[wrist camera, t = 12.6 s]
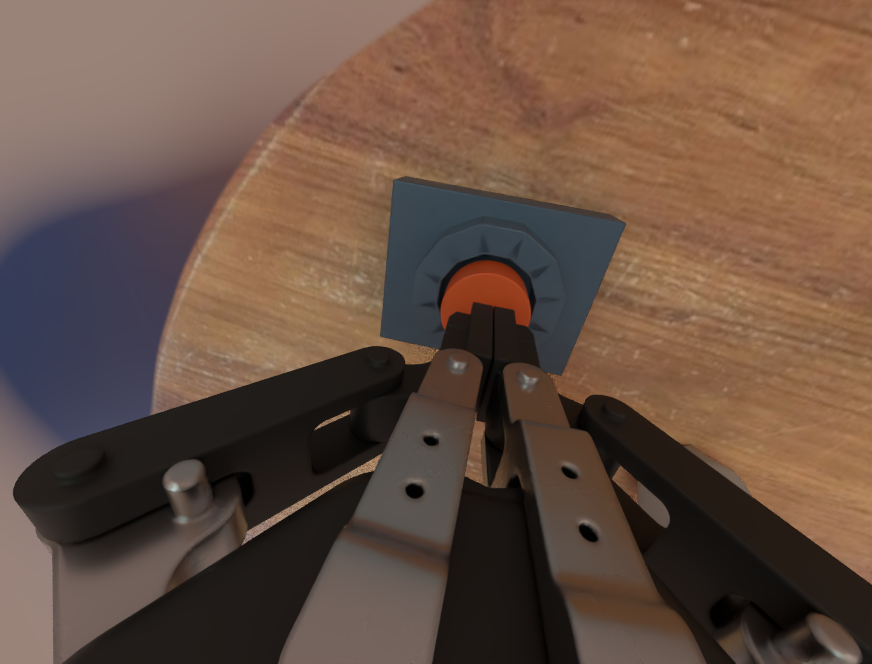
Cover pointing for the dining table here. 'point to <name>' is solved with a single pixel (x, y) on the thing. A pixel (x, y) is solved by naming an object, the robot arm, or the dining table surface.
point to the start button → (486, 290)
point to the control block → (498, 241)
